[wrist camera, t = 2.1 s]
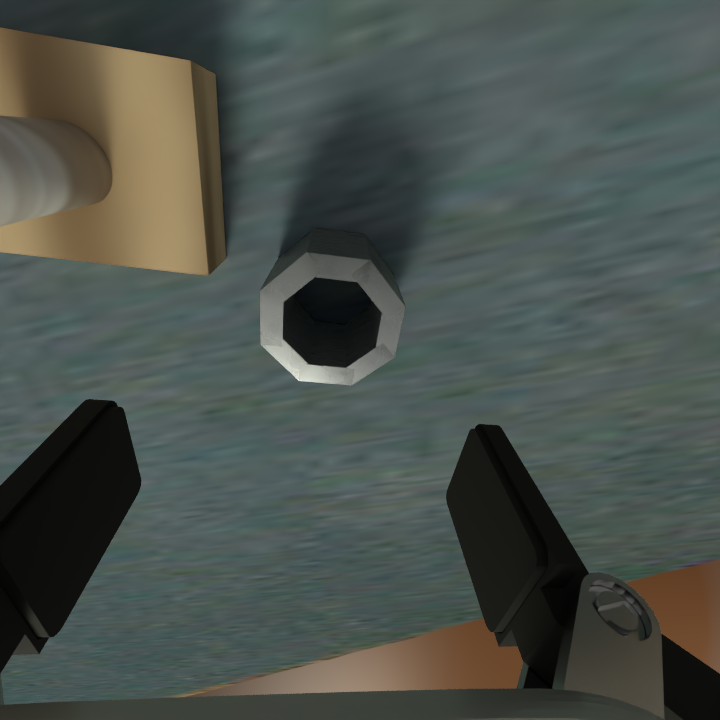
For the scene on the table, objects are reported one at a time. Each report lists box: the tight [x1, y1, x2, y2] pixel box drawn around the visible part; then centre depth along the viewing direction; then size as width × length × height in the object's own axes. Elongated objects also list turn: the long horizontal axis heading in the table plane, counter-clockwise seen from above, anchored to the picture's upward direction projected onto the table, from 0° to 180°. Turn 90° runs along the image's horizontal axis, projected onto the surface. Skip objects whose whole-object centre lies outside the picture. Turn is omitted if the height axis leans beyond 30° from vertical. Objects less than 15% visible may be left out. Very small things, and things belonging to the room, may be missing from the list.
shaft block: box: [0, 28, 226, 276], centre depth 13 cm, size 10×8×8 cm
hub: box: [260, 228, 406, 385], centre depth 19 cm, size 6×6×5 cm
